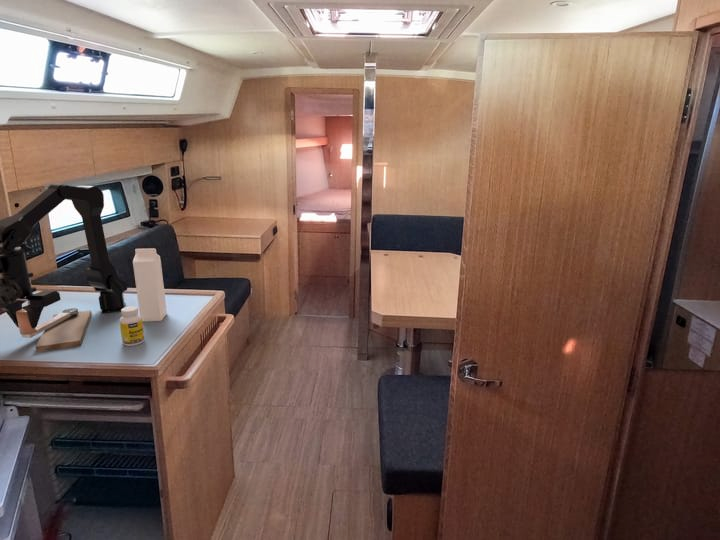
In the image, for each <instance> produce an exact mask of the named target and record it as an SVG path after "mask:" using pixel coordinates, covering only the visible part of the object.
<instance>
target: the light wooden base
mask: <svg viewBox="0 0 720 540" xmlns="http://www.w3.org/2000/svg"><path fill="white" fill-rule="evenodd" d="M92 313H93V312H92V310H90V309H89V310H83V311H78V314H77V315H75V316H71V317H69V318H67V319H65V320H63V321H61V322H60V323H58V324H56V325H54V326H52V327H50V328H48V329H46V330H45V331H43V332H42V335H41V336H40V337H39V340H38V341H37V343H36V345H35V351H36V353H39V351H40V352H45V350H47V351H52V349H54V350H59V348H61V349H66V348H67V347H68V348H72V347H73V348H74V347H75V348H76V347H80V346H82V344H83V340H84V337H85V334H86V333H87V329H88V328H89V327H88V326H89V324H90V322H91V319H90V318H92V316H93V314H92ZM59 314H60V313H58V314H57V313H55V314H53V315H52V317H51V318H53V317H55V316H57V315H59ZM91 315H92V316H91ZM68 348H67V349H68Z"/></svg>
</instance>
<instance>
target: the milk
mask: <svg viewBox="0 0 720 540" xmlns="http://www.w3.org/2000/svg"><path fill="white" fill-rule="evenodd" d="M134 251H135V253H134V254H135V255H134V257H133V259H132V265H133V273H134V274H133V275H134V279H135V288H136V297H137V303H138V304H137V305H138V312H139V315H141V317H142V323H143V322H161V321H162V320H163V319H164V318H165V317H166V316H167V315H168V311H167V304H166V303H167V302H166V295H165V294H166V293H165V287H164V286H165V285H164V279H163V278H164V276H163V269H162V260H161V256H160V255H159V254H158V253H157V249H156V248H153V247H152V248H135V250H134Z"/></svg>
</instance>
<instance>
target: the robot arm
mask: <svg viewBox="0 0 720 540" xmlns="http://www.w3.org/2000/svg"><path fill="white" fill-rule="evenodd" d="M104 197H105V196H104V193H103V191H102V189H101V188H99V187H98V186H92V185H76V186H72V185H67V184H65V183H64V184H63V183H52V184H50V185H49V186H48V187H47V189H45V190H44V191H43V192H42V193H40V194H39V195H38V196H37V197H35V198H34V199H33V200H32V201H31V202H29V203H28V204H26V205H25V206H23V208H22V209H21V210H20V211H18V212H17V213H15V214H13V215H11V216H7V217H4V218H2V219H1V220H0V310H3V311H4V312H5V313H6V314H7V315H8V316H9V318H10V319H11V321H12V322H13V323H14V325H15V326H16V328H18V329H19V326H18V321H17V316H16V312H17V311H19V310H23V309H24V310H25V311H27V314H28V317H29V321H30V324H31V327H32V328H36V327H37V325H39V324H38V323H39V321H40V317H41V315H42V312H43V310H44V308H45V307H46V308H47V307H48V306H50V305H53V304H55V303H57V302H59V301H61V294H60V292H59V291H57V290H55V289H52V290H51V289H49V290H48V289H44V290H42V291H39V292H37V287H34V286H33V285H32V282H31V278H32V277H34V272H30V271H29V267H28V263H27V260H26V259H27V258H26V255H25V254H26V253H30V252H33V251H34V248H32V247H30V246H28V245H27V244H25V242H26V241H27V239H29V237H30V236H31V234H32V231H33V228H35V226H36V225H37V224H38V223H39V222H41V220H42V219H44V218H45V217H46V216H48V214H49V213H51V212H52V211H53V210H54V209H56V208H57V207H58V206H59V205H60V204H61V203H62V202H64V201H65V200H66V201H67V200H68V201H71V203H72V205H73V207H74V209H75V210H76V211H77V214H79V215H80V216H81V218H82V226H83V228H84V229H83V230H84V233H85V238H86V239H85V240H86V243H87V248H88V253H89V258H90V265H89V267H88V268H84V273H85V275H86V276H85V277H86V279H85V280H86V282H88V284H89V285H90V287H92V288H93V289H94V291H95V292H99V295H98V302H99V303H98V304H99V309H100V311H101V314H105V313H114V312H113V311H116V312H121V309H122V308H125V307H126V306H125V305H126V302H125V297H124V296H125V295H124V292H126V291H127V290H128V287H129V286H128V285H129V284H128V283H127V282H126V281H125V280H123V279H121V278H120V276H119V273H118V270H117V268H116V266H114V264H113V263H112V262H111V260H110V258H109V252H108V247H107V241H106V236H105V231H104V228H103V227H104V226H103V221H102V216H101V215H102V212H103V210H104V206H105V202H104V200H105V199H104ZM23 302H26V304H27V305H24V306H23Z"/></svg>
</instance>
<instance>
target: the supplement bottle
mask: <svg viewBox="0 0 720 540" xmlns="http://www.w3.org/2000/svg"><path fill="white" fill-rule="evenodd" d="M120 312H121V313H120V314H121V315H122V316H121V317H120V318H119V326H120V333H121V342H122V344H123V345H124V346H128V347H135V346H138V345H140V344H143V343H144V341H145V333H144V325H143V322H142V317H141V315H140V313H139V307H137V306H136V305H135V306H133V305H129V306H125V308H122V309H121V311H120Z"/></svg>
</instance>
